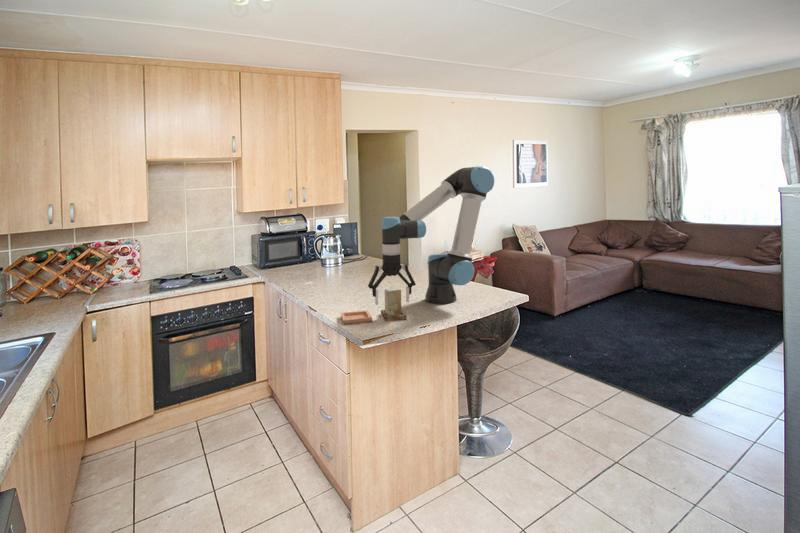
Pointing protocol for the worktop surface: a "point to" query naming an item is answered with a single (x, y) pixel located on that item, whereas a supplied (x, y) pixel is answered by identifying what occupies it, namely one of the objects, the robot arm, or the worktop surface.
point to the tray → (356, 317)
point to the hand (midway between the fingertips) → (392, 302)
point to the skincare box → (393, 302)
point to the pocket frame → (393, 318)
